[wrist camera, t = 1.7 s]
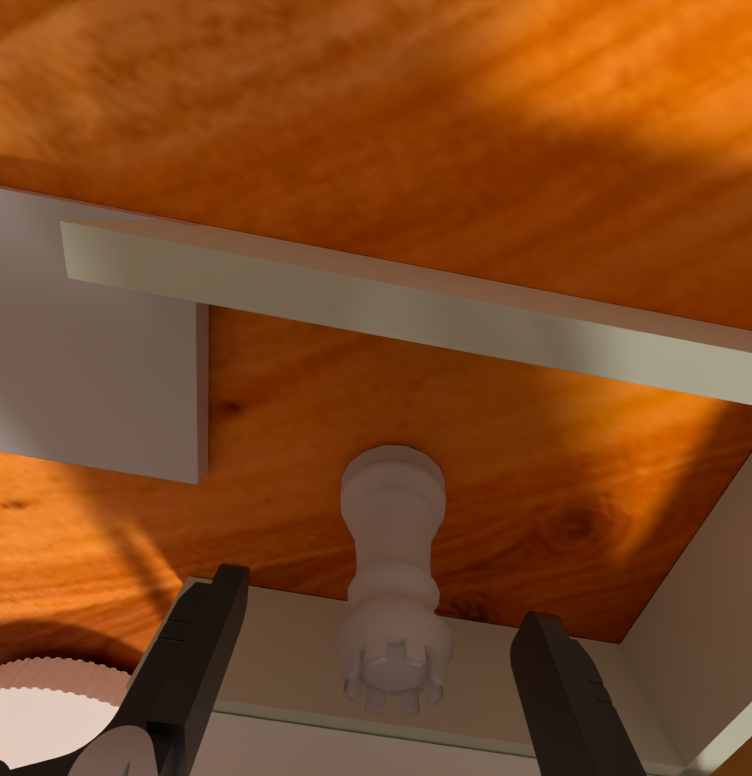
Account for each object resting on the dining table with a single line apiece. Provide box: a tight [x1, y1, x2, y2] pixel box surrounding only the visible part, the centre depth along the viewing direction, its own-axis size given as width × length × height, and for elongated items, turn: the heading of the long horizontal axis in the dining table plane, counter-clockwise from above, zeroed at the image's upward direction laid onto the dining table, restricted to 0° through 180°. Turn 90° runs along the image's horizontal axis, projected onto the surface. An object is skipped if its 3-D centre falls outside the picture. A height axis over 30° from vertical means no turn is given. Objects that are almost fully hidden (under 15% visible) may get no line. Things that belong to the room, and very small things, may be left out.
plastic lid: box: [0, 657, 131, 770], centre depth 24 cm, size 14×14×2 cm
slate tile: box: [0, 185, 209, 485], centre depth 14 cm, size 10×10×1 cm
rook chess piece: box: [333, 445, 455, 717], centre depth 13 cm, size 4×4×8 cm
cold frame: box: [60, 220, 752, 776], centre depth 13 cm, size 24×24×12 cm
